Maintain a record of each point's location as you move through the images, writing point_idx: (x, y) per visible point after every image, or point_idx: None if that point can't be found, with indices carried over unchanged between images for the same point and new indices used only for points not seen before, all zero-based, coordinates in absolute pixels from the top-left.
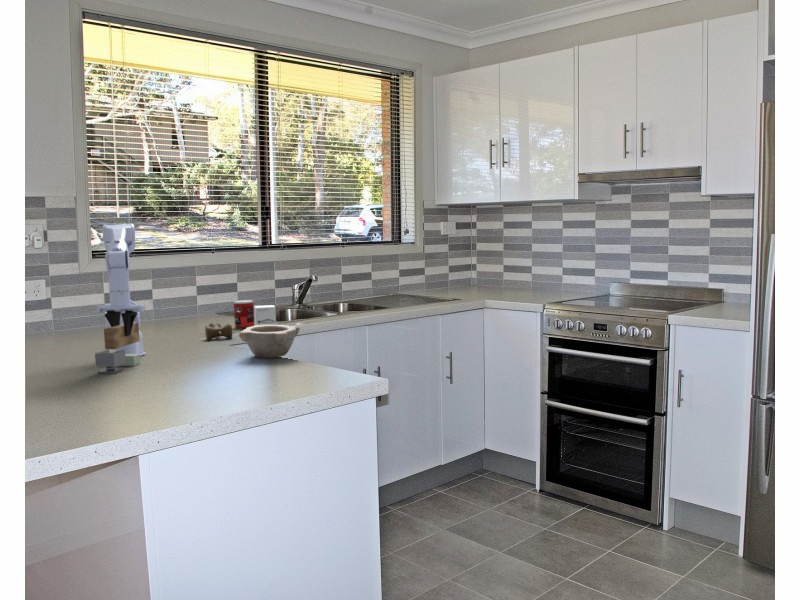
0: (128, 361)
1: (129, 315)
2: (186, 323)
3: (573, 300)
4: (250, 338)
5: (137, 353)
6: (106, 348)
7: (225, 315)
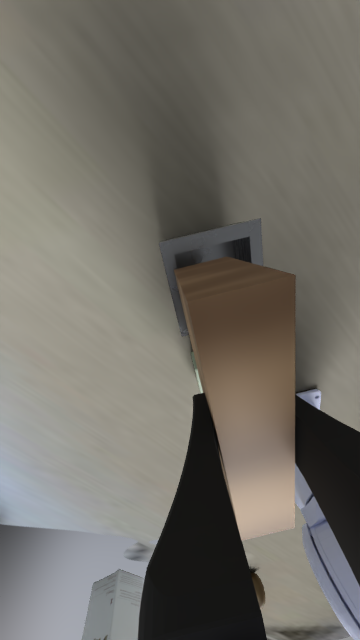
0: None
1: (144, 593)
2: None
3: None
4: None
5: None
6: (220, 258)
7: (320, 626)
